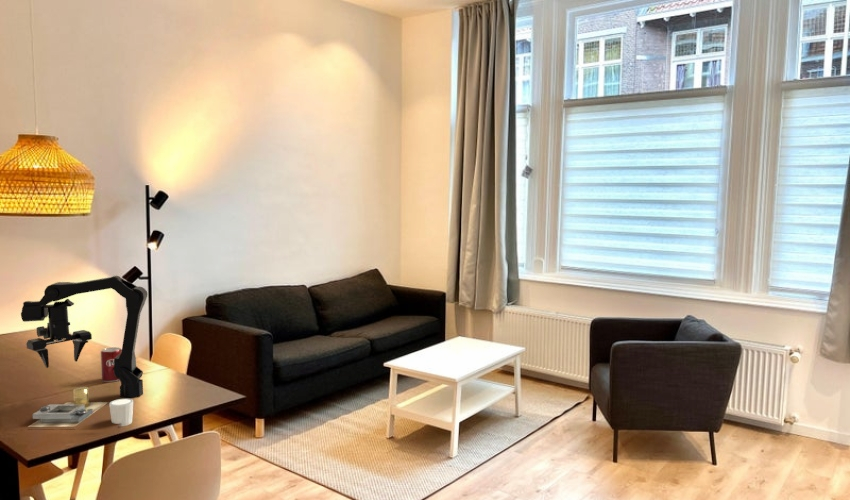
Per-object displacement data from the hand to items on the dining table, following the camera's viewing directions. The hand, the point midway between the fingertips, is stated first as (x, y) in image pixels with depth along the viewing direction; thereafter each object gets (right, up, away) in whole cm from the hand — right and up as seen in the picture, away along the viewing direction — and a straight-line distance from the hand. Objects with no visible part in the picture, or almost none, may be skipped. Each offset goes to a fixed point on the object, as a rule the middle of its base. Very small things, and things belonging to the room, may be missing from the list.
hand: (61, 364), depth 210 cm
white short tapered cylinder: (+29, -16, -17) cm, 37 cm away
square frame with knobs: (+10, -15, -16) cm, 24 cm away
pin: (+10, -13, -5) cm, 17 cm away
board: (+10, -15, -12) cm, 21 cm away
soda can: (+3, -11, +28) cm, 30 cm away
